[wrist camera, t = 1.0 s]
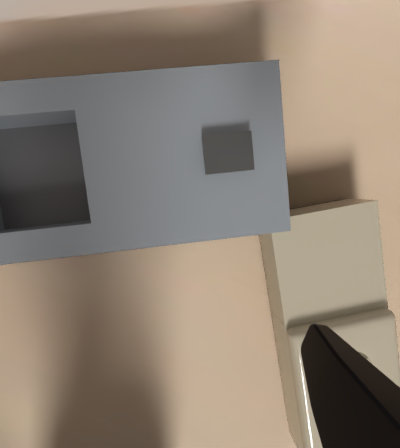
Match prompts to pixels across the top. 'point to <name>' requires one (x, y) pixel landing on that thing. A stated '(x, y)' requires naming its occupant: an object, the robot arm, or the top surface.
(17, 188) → the grey block with pocket
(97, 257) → the top surface
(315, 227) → the electrical outlet
